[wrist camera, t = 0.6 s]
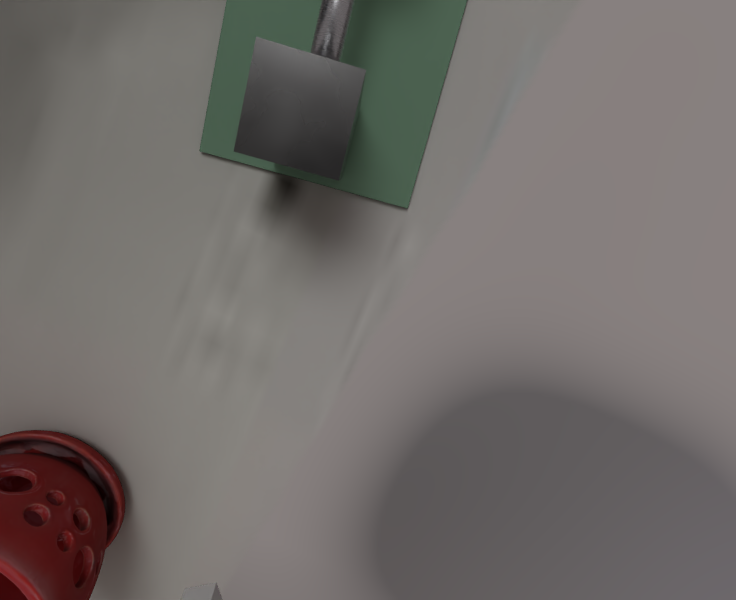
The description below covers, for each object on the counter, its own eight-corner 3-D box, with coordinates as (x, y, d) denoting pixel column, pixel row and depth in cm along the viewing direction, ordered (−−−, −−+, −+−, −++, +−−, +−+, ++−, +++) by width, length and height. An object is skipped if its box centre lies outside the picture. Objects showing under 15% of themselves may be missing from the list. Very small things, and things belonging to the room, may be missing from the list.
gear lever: (352, 181, 32) (354, 184, 21) (262, 156, 31) (217, 147, 21) (420, -82, 29) (462, -236, 18) (319, -116, 28) (300, -297, 17)
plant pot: (-70, 461, 37) (-263, 593, 25) (79, 387, 36) (-50, 489, 24) (35, 587, 40) (-93, 757, 28) (175, 522, 39) (102, 671, 27)
